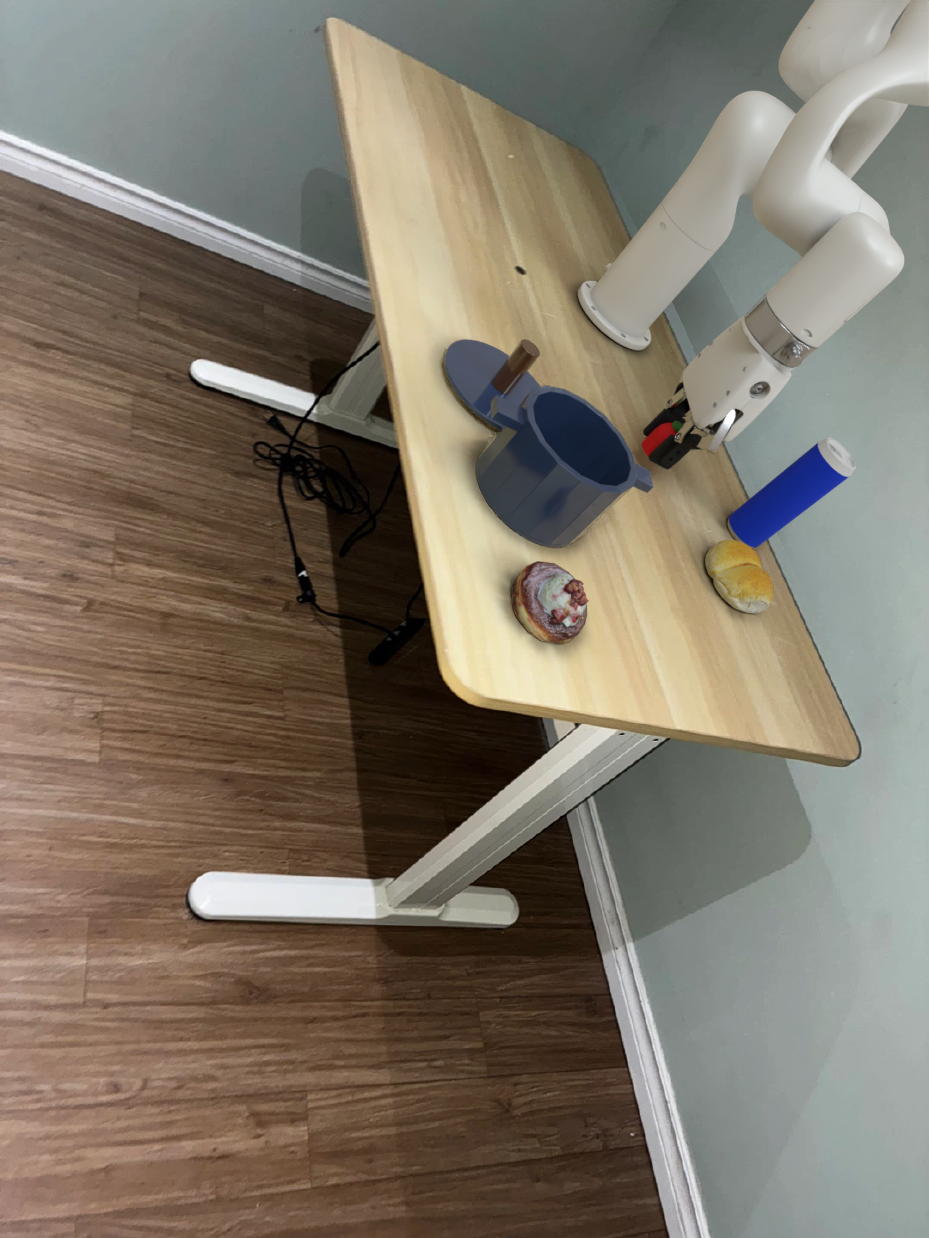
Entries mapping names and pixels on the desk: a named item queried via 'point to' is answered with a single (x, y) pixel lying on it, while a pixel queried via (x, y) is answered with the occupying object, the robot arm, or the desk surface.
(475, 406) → the lid
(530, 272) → the desk surface
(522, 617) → the pastry
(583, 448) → the pot
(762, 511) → the beverage can
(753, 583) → the bread roll
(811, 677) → the desk surface
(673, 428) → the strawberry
